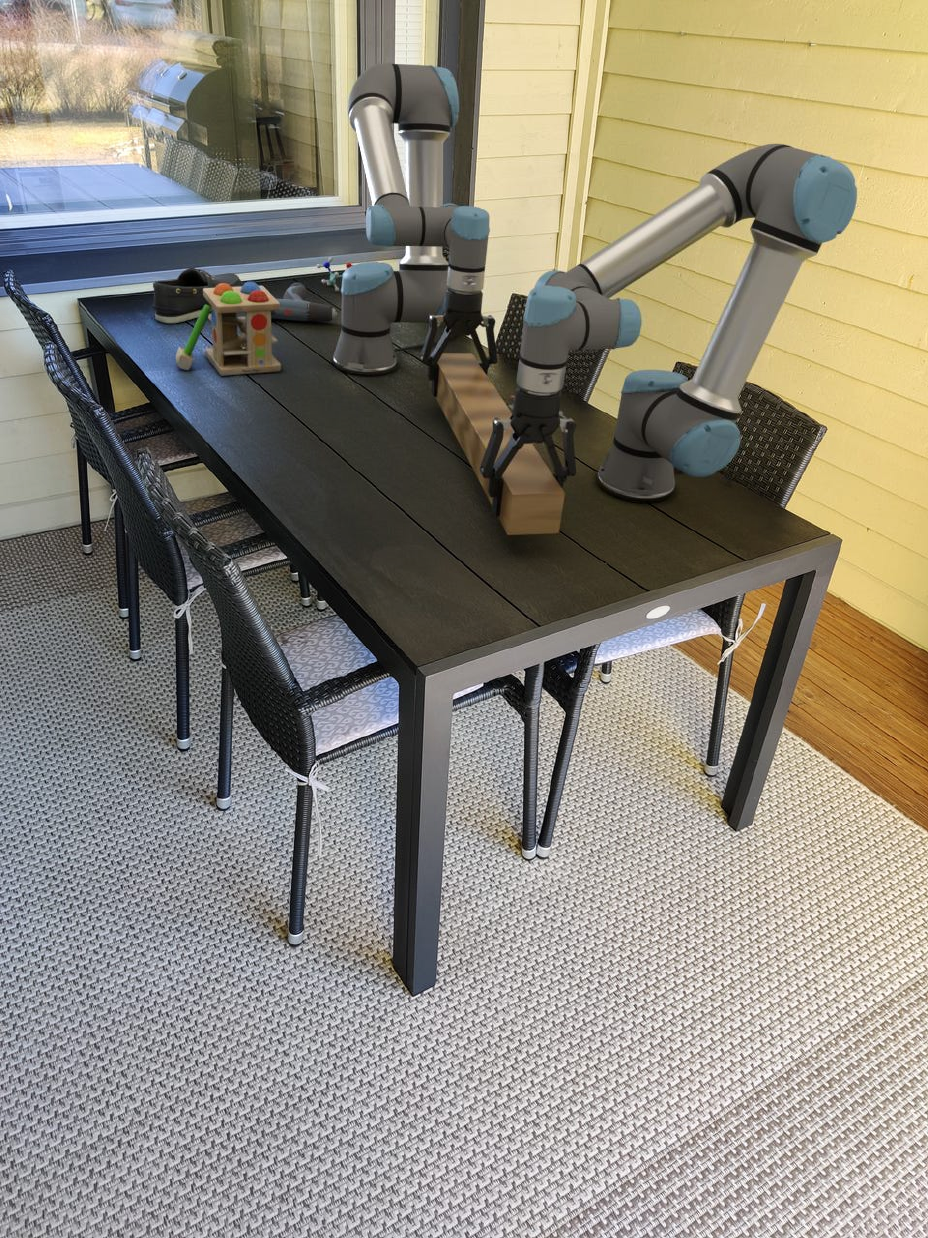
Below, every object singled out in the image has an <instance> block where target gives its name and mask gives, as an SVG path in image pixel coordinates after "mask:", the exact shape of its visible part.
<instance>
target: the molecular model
mask: <svg viewBox="0 0 928 1238" xmlns="http://www.w3.org/2000/svg"><path fill="white" fill-rule="evenodd" d="M333 260H334V258H333V257H332V256H330V257H328V261H325V262H324V264H320V263H317V264H316V268H317V269H320V268H325V269H327V270H328V272H329V274H330V275H329V279H321V283H322V284H327V286H329V287H330V286H332V285H333V287H334V291H335V292H337V293H338V292H339V291H340V287H339V286H337V284H336V283H337V282H336V279H339V278H340V279H341V278H343V274H344V272H343V273H342V274H341V275H339V274H340V273H339V272H338V271H336V272H334V273H333V272H332V270H331V264H330V263H332V262H333ZM353 265H354V264H352V263H351V262H347V263H346V264H345V266H346V269H348V268H349V267H351V266H353Z"/></svg>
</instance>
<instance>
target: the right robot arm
mask: <svg viewBox="0 0 928 1238" xmlns="http://www.w3.org/2000/svg"><path fill="white" fill-rule="evenodd" d="M698 183H699V184H698V186H696V187H695V188H693V189H692V190H690V191H688V192H687V193H686V194H683V196H681V197H679V198H678V199H677V200H675V201H674V202H672V203H670V204H669V205H667V206H666V207H664V208H663V209H661V210H659V211H658V212H657V213H655V214H654V215H652V216H650V217H649V218H647V219H646V220H644V221H643V222H641V223H640V224H638V225H637V226H635V227H633V228H632V229H631V230H629V231H628V232H626V233H624V234H623V235H622V236H620V237H619V238H617V239H615V240H613V241H612V242H610V243H609V244H608V245H606V246H605V247H603V248H601V249H600V250H598V251H597V252H595V253H593V255H591V256H590V257H588V258H586V259H584V260H583V261H581V262H580V263H579V264H577V265H576V266H573V267H572V268H571V269H569V270H567V271H566V272H565V271H564V270H563V271H562V270H556V269H555V270H554V269H553V270H549V271H547V272H546V271H545V272H544V273H543V274H541V276H540V277H539V278H538V279H537V280H536V282H535V284H534V287H533V288H532V289H531V290H530V291H529V293H528V294H527V299H526V303H525V309H524V312H523V313H524V314H523V316H522V320H523V321H522V322H523V324H522V333H521V342H520V350H519V351H520V352H519V361H518V366H517V374H516V384H517V386H516V387H515V391H514V395H515V399H514V407H513V411H512V412H511V413H512V415H511V417H510V418H509V419H504V420H500V419H499V418H494V419H493V432H492V435H491V437H490V440H489V443H488V446H487V449H486V452H485V455H484V457H483V460H482V463H481V466H480V472H481V474H482V475H483V477H484V478H489V479H490V480H489V489H488V492H489V494H490V496H491V497H493V501H492V504H491V511H492V513H493V515H494V517H495V518H496V517H500V509H501V500H502V492H503V484H504V482H503V480H502V478H501V476H502V475H503V473H504V472H505V470H506V469H507V467H508V466H509V464H510V463H511V461H512V459H513V458H514V456H515V455H516V453H517V452H518V450H519V449H521V448H522V447H523V445H524V444H531V443H532V444H537V445H542V444H544V447H545V451H546V452H547V455H548V458H549V460H550V463H551V466H552V469H553V471H554V473H552V475H553V476H554V478H555V479H556V481H557V482H558V484H559V485H560V487H561V488H562V490H563V491H564V483H565V482H567V480H568V477H575V476H576V475H577V464H576V453H575V452H576V451H575V440H574V436H575V431H576V429H577V428H576V427H577V424H576V422H575V421H574V420H573V418H572V417H571V416H566V419H563V418H562V417H559V411H561V405H562V398H563V392H562V390H563V388H564V383H565V375H566V369H567V364H568V358H569V353H570V352H579V351H594V350H595V351H599V350H612V351H613V350H616V349H621V348H628V347H631V346H633V345H634V344H635V343H636V342H637V341H638V338H639V337H640V334H641V330H642V329H641V328H642V323H643V322H642V320H643V319H642V313H641V310H640V308H639V306H638V304H637V303H636V302H635V301H634V300H632V299H628V298H621V297H617V298H613V299H612V297H614V296H615V295H616V294H618V293H620V292H621V291H622V290H625V289H626V288H627V287H629V286H630V285H632V284H633V283H635V282H636V281H638V280H640V279H641V278H643V277H645V276H646V275H647V274H649V273H650V272H652V271H654V270H656V268H658V267H659V266H661V265H663V264H664V263H665V262H668V261H669V260H671V259H673V257H675V256H677V255H678V254H679V253H681V252H683V251H684V250H686V249H687V248H689V247H691V246H692V245H694V244H695V243H697V242H698V241H700V240H701V239H703V238H704V237H706V236H707V235H709V234H710V233H712V232H714V231H716V230H717V229H718V228H719V227H722V228H728V229H729V228H731V227H732V226H734V225H736V224H737V223H738V222H740V221H743V220H748V219H753V222H752V223H751V226H750V229H749V231H750V234H751V236H752V239H753V244H752V246H751V248H750V250H749V252H748V255H747V258H746V260H745V261H744V264H743V266H742V268H741V270H740V273H739V275H738V276H737V280H736V282H735V284H734V285H733V288H732V290H731V293H730V294H729V296H728V299H727V302H726V303H725V306H724V308H723V310H722V312H721V314H720V317H719V319H718V321H717V324H716V326H715V328H714V330H713V332H712V335H711V337H710V338H709V341H708V344H707V345H706V348H705V350H704V352H703V354H702V356H701V359H700V361H699V364H698V366H697V367H696V370H695V372H694V374H693V377H692V378H691V379H689V380H688V378H687V376H685V375H683V374H681V373H678V372H675V371H671V370H670V371H669V370H664V369H639V370H635V371H632V372H630V373H629V374H628V375H627V376H626V377H625V378H624V381H623V384H622V389H621V391H620V400H619V407H618V413H617V418H616V423H615V429H614V434H613V440H612V445H611V446H610V449H609V450H608V452H607V454H606V456H605V457H604V459H603V461H602V462H601V464H600V466H599V469H598V472H597V477H596V483H597V485H598V486H599V488H600V489H602V490H603V491H604V492H605V493H607V494H609V495H611V496H613V497H615V498H618V499H620V500H624V501H628V502H634V503H641V504H642V503H643V504H644V503H646V504H648V503H649V504H651V503H660V502H663V501H666V500H667V499H669V498H671V497H672V496H673V494H674V490H675V486H676V478H675V473H674V472H675V471H681V472H683V473H684V474H685V475H688V476H689V477H693V478H705V477H709V476H711V475H714V474H715V473H717V472H719V471H721V470H723V469H724V468H725V467H726V466H727V465H729V463H731V461H732V460H733V458H734V457H735V456H736V454H737V453H738V451H739V449H740V445H741V436H740V435H741V432H740V430H739V428H738V425H737V423H736V422H737V421H738V419H739V416H740V414H741V412H742V407H741V405H740V401H739V396H740V394H741V392H742V390H743V388H744V386H745V384H746V382H747V380H748V377H749V376H750V373H751V371H752V369H753V367H754V365H755V363H756V361H757V359H758V356H759V354H760V353H761V351H762V348H763V346H764V344H765V342H766V340H767V338H768V336H769V334H770V331H771V330H772V328H773V325H774V324H775V321H776V319H777V317H778V314H779V313H780V311H781V309H782V307H783V304H784V302H785V300H786V298H787V297H788V294H789V291H790V290H791V287H792V285H793V283H794V281H795V280H796V278H797V275H798V274H799V271H800V269H801V267H802V265H803V263H804V262H805V261H806V260H807V261H808V260H809V259H811V258H814V257H816V256H817V255H818V253H819V251H820V249H821V247H822V245H823V244H824V243H828V242H830V241H833V240H835V239H836V238H837V236H838V235H841V234H842V233H843V232H844V231H845V230H846V229H847V227H848V225H849V224H850V222H851V220H852V218H853V217H854V213H855V210H856V208H857V207H856V206H857V201H858V187H857V186H856V178H855V176H854V174H853V173H852V171H851V169H850V168H849V167H848V166H847V165H846V164H845V163H843V162H841V161H839V160H836V159H834V158H832V157H830V156H828V155H824V154H819V153H815V152H812V151H808V150H805V149H801V148H798V147H797V148H796V147H793V146H791V145H788V144H784V143H768V144H764V145H760V146H755V147H754V148H751V149H748V150H746V151H743V152H740V153H739V154H737V155H735V156H733V157H731V158H729V159H727V160H726V161H724V162H721V163H720V164H719V165H718V166H716V167H714V168H712V169H711V170H710V171H708V172H706V173H705V174H703V175H702V176H701V177H700V179H699V182H698ZM509 427H512V429H513V430H514V432H513V433H512V435H511V436H510V440H509V442H508V443H507V445H506V446H505V448H504V450H503V451H502V453H501V454H500V456H499V457H498V459H497V460H496V457H497V454H498V451H499V449H500V446H501V443H502V440H503V434H505V433H506V432H507V429H508V428H509ZM558 428H559V429H560V431H561V435H562V437H561V438H562V447H563V457H564V459H563V460H564V466H563V465H562V463H561V459H560V456H559V454H558V451H557V449H556V446H555V442H554V439H553V437H552V435H553V434H554V433H555V432H556V430H558ZM495 460H496V462H495ZM494 462H495V464H494ZM674 470H675V471H674Z"/></svg>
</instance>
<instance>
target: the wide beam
mask: <svg viewBox="0 0 928 1238" xmlns="http://www.w3.org/2000/svg"><path fill="white" fill-rule="evenodd" d="M479 363H480V362H478V360H477V359H476V357H475V356H474V354H473V353H470V352H468V353H467V352H466V353H462V352H461V353H460V352H459V353H458V352H457V353H456V352H455V353H454V352H453V353H452V352H450V353H449V352H443V354H442V355H441V357H440V359H439V360H438V362H437V365H438V367H439V375H438V389H437V397H435V399H436V402H437V403H438V405H439V407H440V409H441V411H442V412H443V413H442V414H444V416H445V419H446V420H447V423H448V424H449V426H450V428H451V430H452V432H453V434H454V435H455V437H456V439H457V441H458V444H459V445H460V447H461V449H462V451H463V453H464V454H465V456H466V459H467V460H468V462H469V464H470V467H471V468H472V470H473V472H474V473H475V475H476V477H477V479H478V481H479V483H480V485H481V487H482V490H483V491H484V493H485V495H486V497H487V499H488V500H489V502H490V505H492V501H493V497H491V496H490V494H489V492H488V489H489V480H490V479H489V478H484V477H483V475H482V474H481V472H480V466H481V463H482V460H483V457H484V455H485V452H486V449H487V446H488V443H489V440H490V437H491V435H492V432H493V419H494V418H499V419H500V420H504V419H509V418H510V417H511V415H512V413H513V412H511V411H510V410H509V408H508V405H507V404H506V402H505V400H504V399H503V397H502V396H501V395H500V393H499V392H498V390H497V388H496V387H495V385H494V384H493V382H491V380H490V378H489V377H488V374H487V375H486V374H485V372H484V371H483V369H482V368H481V366H480V365H479ZM431 386H432V381H430V380H429V388H430V389H431ZM513 432H514V430H513V429H512V427H509V428H508V429H507V432H506V433H505V434H503V440H502V443H501V446H500V449H499V451H498V454H497V457H496V460H497V459H498V457H499V456H500V454H501V453H502V451H503V450H504V448H505V446H506V445H507V443H508V442H509V440H510V436H511V435H512V433H513ZM496 460H495V462H496ZM495 462H494V464H495ZM552 474H553V473H552V471H551V470H550V468H549V467H548V466H547V464H546V463H545V460H543V458H542V456H541V455H540V453H539V452H538V450H537V449H536V447H535V446H534V443H531V444H524V445H523V447H522V448H521V449H519V450H518V452H517V453H516V455H515V456H514V458H513V459H512V461H511V463H510V464H509V466H508V467H507V469H506V470H505V472H504V473H503V475H502V476H501V478H502V480H503V482H504V484H503V492H502V500H501V509H500V517H498V520H499V521H500V523H501V525H502V528H503V529H504V531H505V533H506V535H508V536H515V535H518V536H519V535H540V534H541V535H544V534H559V533H560V528H561V522H562V521H561V520H562V514H563V508H564V501H565V497H566V496H565V495H566V493H565V491H564V489H563V490H562V488H561V487H560V485H559V484H558V482H557V481H556V479H555V478H554V476H553V475H552Z"/></svg>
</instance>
